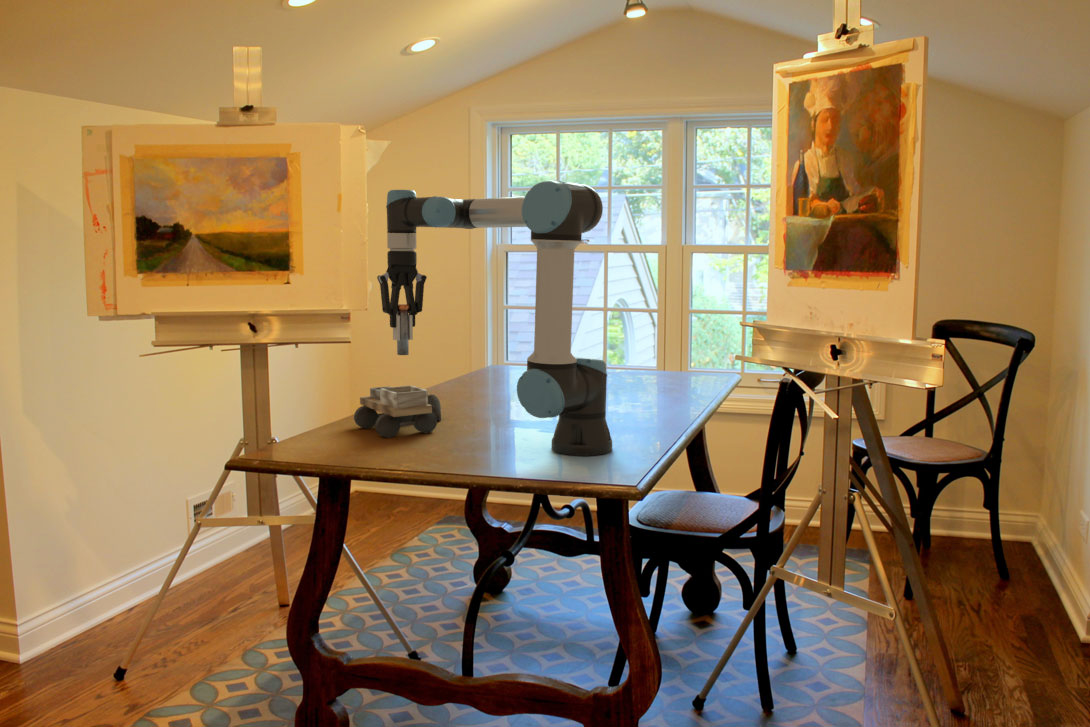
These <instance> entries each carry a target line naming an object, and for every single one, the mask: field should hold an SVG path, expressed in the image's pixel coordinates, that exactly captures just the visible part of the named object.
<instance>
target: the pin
mask: <svg viewBox="0 0 1090 727" xmlns="http://www.w3.org/2000/svg"><path fill="white" fill-rule="evenodd" d="M408 310H409V305H408V304H407V303H406V304H404V303H403V304H399V303H398V310H397V315H399V316H400V340H399V341H397V340H396V348H397V349H396V350H397V351H396V352H397V353H396V355H397V356H409V353H410V352H409V349H410V348H409V341H410V340H409V336H408V315H409V313H408Z"/></svg>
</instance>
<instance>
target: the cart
mask: <svg viewBox="0 0 1090 727" xmlns="http://www.w3.org/2000/svg"><path fill="white" fill-rule="evenodd" d="M369 389H370V390H369V394H370V395H369V396H360V397H359V405H361V406H360V407H357V408H356V410H355V412H354V414H353V420H354V422H355V424H356V425H357V426H358V427H360V428H363V429H371V428H373V427H375V431H376V433H377V434H378V435H379V436H381V437H383V438H386V439H391V438H393V437H395V436H396V435H397V434H398V433H399V431H400V429H401V427H407V426H409V427H410V426H413V427H414V429H415V430H416V431H418V432H421V433H423V434H428V433H429V434H430V433H432V432H433V431H434V430H435V429H436V427H437V425H438V421H437V417H436V415H435V414H434V413H433V412H432V405H429V404H428V395H429V394H428V391H429V390H427V389H425V388H421V387H417V386H414V385H403V386H402V385H401V386H400V385H399V386H389V385H387V386H379V387H370V388H369ZM378 412H380V413H378ZM414 415H415V416H414ZM413 416H414V419H413ZM412 419H413V421H411V420H412Z"/></svg>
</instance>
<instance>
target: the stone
mask: <svg viewBox="0 0 1090 727" xmlns="http://www.w3.org/2000/svg"><path fill="white" fill-rule="evenodd" d="M428 404H429V405H432V412H433V413H434V414H435V415H436V417H437V422H441V421H442V411H441V409H442V406H441V402H440V399H439V398H438V396H436V395H435V394H428ZM414 416H415V415H414ZM414 416H413V419H414ZM413 419H412V420H411V421H413Z"/></svg>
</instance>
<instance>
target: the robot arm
mask: <svg viewBox="0 0 1090 727" xmlns="http://www.w3.org/2000/svg"><path fill="white" fill-rule="evenodd" d="M386 195H387V197H386V206H385V207H386V225H387V226H386V227H387V228H386V237H387V238H386V240H387V241H386V243H387V244H386V246H387V249H389V250H388V251H387V256H386V258H387V269H386V271H385V273H383V274H381V275H377V276H376V278H377V281H378V283H379V288H380V289H379V290H380V298H381V307H382V313H383V314H388V315H389V327H390V328H392V340H393V341H396V342H397V341H399V340H400V316H399V315H397V310H398V304H399V301H400V292H401V289H402V287H403V289H404V294H405V295H404V296H405V300H406V302H405V303H406V304H408V305H409V310H408V336H409V341H413V340H414V338H413V337H414V336H413V334H414V333H413V328H414V327H416V316H417V315H418V314H419V313H421V312H423V304H424V289H425V283H426V280H427V275H425V274H422V273H419V271H418V269H417V262H418V261H417V258H418V257H417V251H415V250H416V249H417V228H436V229H437V228H443V229H444V228H448V229H449V228H450V229H453V228H454V229H465V230H466V229H467V230H473V229H481V228H487V229H488V228H525V227H527V228H528V229H529V230H530V241H531V242H532V244H533V245H534V246H535V247H536V269H535V270H536V271H535V272H536V274H535V305H534V306H535V307H534V341H533V342H534V344H533V351H532V353H531V354H530V355H529V356H528V357H527V359H526V360H527V362H526V370H525V371H524V372H523V373H522V374H521V376H520V377H519V378H518V379H517V385H516V394H517V398H518V401H519V402H520V405H521V407H522V408H524V410H525V412H527V414H529V415H531V416H532V417H536V418H539V419H546V418H548V419H550V418H551V419H552V418H556V417H558V420H557V423H556V426H555V430H554V432H553V436H552V438H551V450H552V451H553V452H556V453H558V454H563V455H569V456H579V457H580V456H583V457H585V456H586V457H589V456H599V455H604V454H608V453H611V452H612V450H613V440H612V437H611V433H610V429H609V426H608V423H607V418H606V417H607V416H606V415H607V385H608V384H607V383H608V379H607V378H608V373H607V363H606V362H605V361H604V360H603V359H599V358H587V357H576V356H574V355H573V353H572V327H573V324H572V323H573V303H574V302H573V301H574V300H573V299H574V298H573V297H574V277H575V276H574V274H575V273H574V272H575V271H574V269H575V250H576V248H577V247H578V246H579V245H580V244H581V243H582V235H583V234H585V233H587V232H590V231H591V230H593V229H594V228H595V227H596V226H598V224H599V222H600V221H601V218H602V216H603V209H604V205H603V201H602V198H601V196H600V194H599V193H598V192H597V191H596V190H595V189H594V188H593V187H591V186H589V185H586V184H584V183H576V182H570V181H569V182H568V181H563V180H555V179H554V180H544V181H543V180H542V181H539V182H537V183H535V184H534V185H533V186H532V187H530V189H529V190H528V191H527V192H526V194H525V196H512V197H511V196H510V197H493V198H468V199H461V198H459V199H457V198H448V197H447V196H436V195H435V196H434V195H433V196H427V197H424V196H423V197H417V193H416V191H415V190H414V189H413V190H411V189H390V190H389V191H388V192H387V194H386ZM389 280H390V282H391V286H390V288H391V293H390V289H389V283H388V282H389ZM414 280H415V281H416V283H415V292H414Z"/></svg>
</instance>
